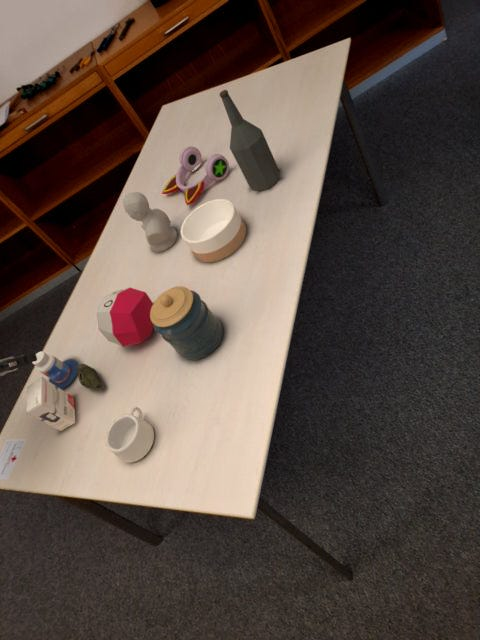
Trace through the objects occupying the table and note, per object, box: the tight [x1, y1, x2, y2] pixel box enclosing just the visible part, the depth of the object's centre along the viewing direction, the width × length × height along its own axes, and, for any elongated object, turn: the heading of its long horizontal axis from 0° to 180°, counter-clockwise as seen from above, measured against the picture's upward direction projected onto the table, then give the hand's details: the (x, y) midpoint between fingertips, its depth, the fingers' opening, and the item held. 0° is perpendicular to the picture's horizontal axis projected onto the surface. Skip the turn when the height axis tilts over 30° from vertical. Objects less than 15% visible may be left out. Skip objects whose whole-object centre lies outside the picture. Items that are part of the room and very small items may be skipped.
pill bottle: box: [31, 350, 70, 383], centre depth 121 cm, size 6×5×10 cm
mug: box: [105, 406, 155, 463], centre depth 99 cm, size 12×10×6 cm
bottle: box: [219, 89, 280, 192], centre depth 128 cm, size 10×10×30 cm
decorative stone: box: [77, 363, 104, 390], centre depth 117 cm, size 11×8×5 cm
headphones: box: [161, 146, 230, 207], centre depth 152 cm, size 20×10×20 cm
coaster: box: [48, 358, 80, 391], centre depth 125 cm, size 10×10×1 cm
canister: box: [150, 285, 224, 361], centre depth 104 cm, size 13×13×18 cm
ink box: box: [25, 377, 76, 432], centre depth 112 cm, size 8×5×12 cm, turn 20°
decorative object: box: [96, 287, 154, 347], centre depth 117 cm, size 15×15×15 cm
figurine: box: [122, 191, 178, 253], centre depth 136 cm, size 9×13×20 cm
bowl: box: [180, 198, 247, 263], centre depth 128 cm, size 17×17×8 cm
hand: (22, 360), depth 113 cm, fingers open, 8 cm apart
